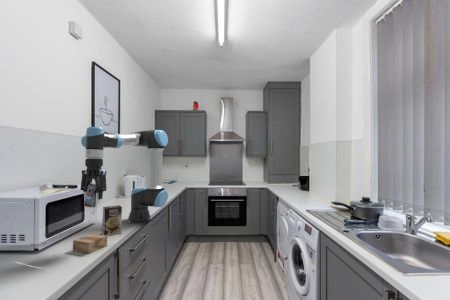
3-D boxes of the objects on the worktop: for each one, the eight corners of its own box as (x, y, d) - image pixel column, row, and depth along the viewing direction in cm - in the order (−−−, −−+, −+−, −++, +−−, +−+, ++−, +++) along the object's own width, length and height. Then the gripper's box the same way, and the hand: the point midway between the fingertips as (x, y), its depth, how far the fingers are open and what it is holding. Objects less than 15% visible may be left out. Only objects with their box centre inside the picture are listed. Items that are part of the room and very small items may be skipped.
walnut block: (92, 243, 111) (92, 233, 111) (106, 246, 108) (107, 235, 108) (72, 251, 102) (73, 240, 102) (88, 254, 98) (88, 243, 99)
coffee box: (103, 237, 121) (104, 208, 122) (101, 234, 126) (102, 206, 126) (121, 234, 127) (122, 206, 127) (118, 231, 132) (119, 204, 132)
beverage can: (82, 207, 105) (83, 182, 106) (99, 205, 111) (100, 181, 111) (85, 209, 101) (86, 183, 102) (103, 207, 106) (103, 182, 107)
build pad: (92, 242, 114) (92, 241, 114) (113, 246, 109) (113, 245, 109) (65, 253, 100) (65, 252, 100) (87, 258, 96) (87, 256, 96)
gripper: (72, 158, 107) (70, 205, 105) (103, 158, 100) (101, 208, 99) (86, 158, 114) (85, 202, 113) (116, 158, 107) (114, 205, 106)
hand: (92, 205), depth 106 cm, fingers closed on beverage can, 7 cm apart
